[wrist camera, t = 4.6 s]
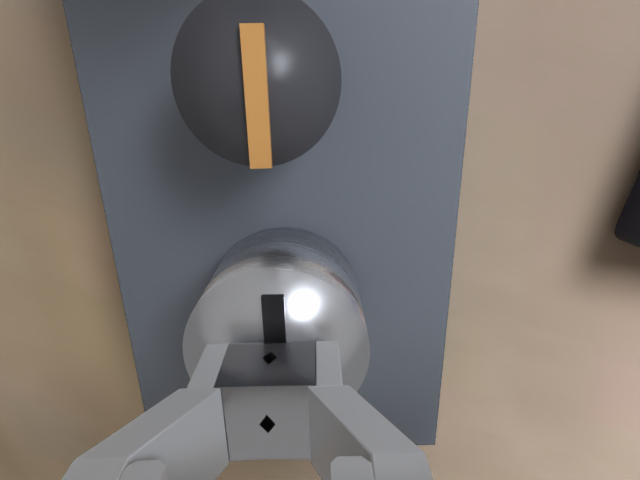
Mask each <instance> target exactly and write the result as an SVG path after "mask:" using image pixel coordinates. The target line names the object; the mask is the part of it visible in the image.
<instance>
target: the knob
mask: <svg viewBox="0 0 640 480" xmlns="http://www.w3.org/2000/svg"><path fill="white" fill-rule="evenodd" d="M330 340H338V342H339V349H340V360H341V372H342V383H343V385H349V386H351V387H352V388H353V389H354V390H355V391H356V392H357V391H358V390H359V388H360V386H361V385H362V383H363V381H364V378H365V376H366V374H367V370H368V366H369V360H370V342H369V338H368V333H367V328H366V323H365V318H364V313H363V309H362V304H361V299H360V294H359V289H358V285H357V280H356V276H355V273H354V271H353V268H352V266H351V265H350V263H349V261H348V260H347V258H346V257H345V255H344V254H343V253H342V252H341V251H340V250H339V249H338V248H337V247H336V246H335V245H334V244H332V243H331V242H330V241H328V240H327V239H325V238H323V237H322V236H320V235H317V234H315V233H313V232H310V231H307V230H303V229H298V228H291V227H278V228H270V229H265V230H261V231H258V232H255V233H253V234H251V235H249V236H247V237H245V238H243V239H242V240H241V241H239V242H238V243H236V244H235V245H234V246H233V247H232V248H231V249H230V250H229V251H228V252H227V254H226V255H225V256H224V258H223V259H222V261H221V262H220V264H219V266H218V268H217V269H216V271H215V273H214V275H213V276H212V278H211V280H210V282H209V283H208V285H207V287H206V289H205V290H204V292H203V294H202V296H201V297H200V299H199V301H198V303H197V304H196V306H195V308H194V310H193V311H192V313H191V315H190V317H189V319H188V322H187V324H186V327H185V331H184V335H183V346H182V347H183V358H184V362H185V367H186V369H187V372H188V374H189V377H190V379H191V377H192V375H193V372H194V370H195V368H196V366H197V364H198V361H199V359H200V357H201V355H202V352H203V350H204V348H205V346H206V345H207V344H209V343H226V342H229V343H292V342H315V341H330Z"/></svg>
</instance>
